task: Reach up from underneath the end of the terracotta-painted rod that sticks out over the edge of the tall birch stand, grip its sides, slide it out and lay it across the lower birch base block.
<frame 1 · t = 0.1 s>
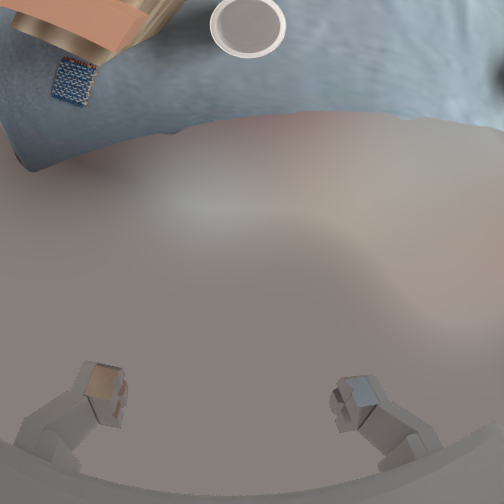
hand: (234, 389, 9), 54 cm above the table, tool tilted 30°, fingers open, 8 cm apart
jar: (247, 19, 38), on the table
woven mat: (76, 79, 43), on the table
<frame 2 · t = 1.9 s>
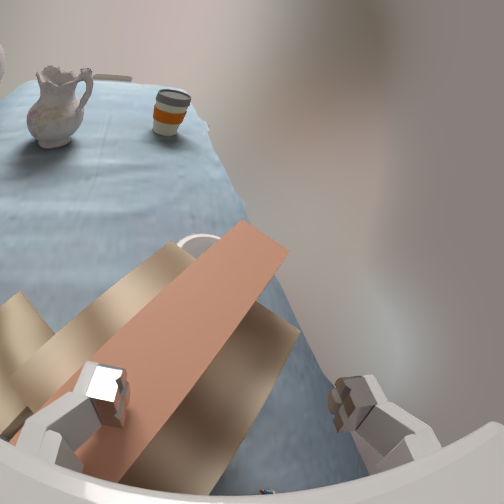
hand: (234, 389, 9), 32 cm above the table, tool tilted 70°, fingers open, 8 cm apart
jar: (188, 317, 47), on the table
base block: (46, 399, 27), on the table
reusable coffee cup: (164, 131, 93), on the table
stand: (147, 425, 31), on the table
ceramic pitcher: (56, 141, 66), on the table
rod: (124, 412, 12), point 26 cm above the table, touching gripper, stand
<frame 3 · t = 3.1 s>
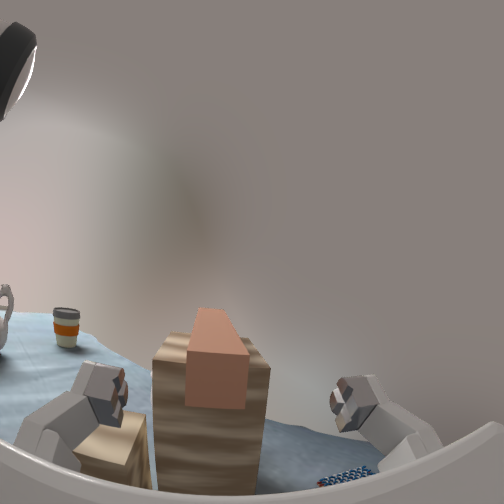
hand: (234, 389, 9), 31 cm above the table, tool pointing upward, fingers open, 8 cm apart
reusable coffee cup: (66, 345, 94), on the table
stand: (204, 491, 31), on the table
woven mat: (353, 493, 31), on the table
rod: (210, 355, 30), point 26 cm above the table, touching stand
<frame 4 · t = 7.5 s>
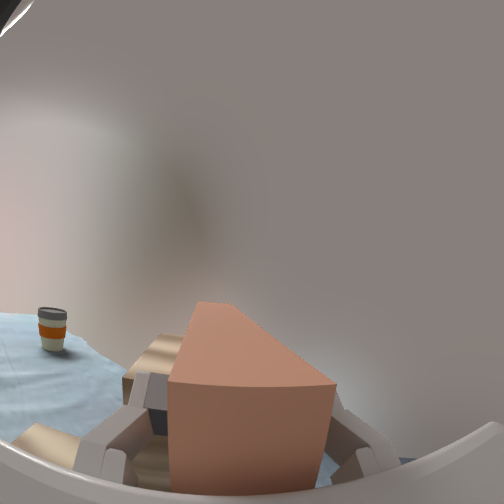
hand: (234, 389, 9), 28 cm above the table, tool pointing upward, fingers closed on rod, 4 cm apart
reusable coffee cup: (52, 348, 82), on the table
rod: (217, 369, 19), point 26 cm above the table, touching gripper, stand
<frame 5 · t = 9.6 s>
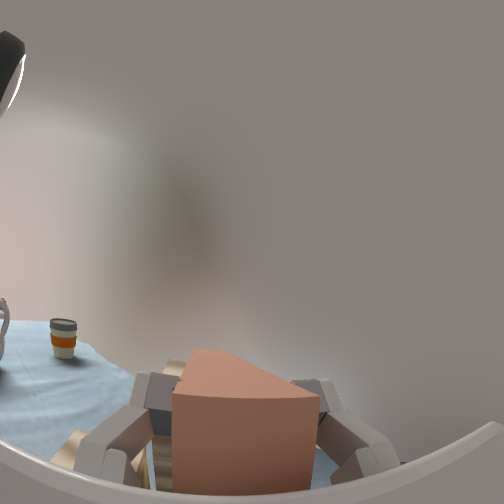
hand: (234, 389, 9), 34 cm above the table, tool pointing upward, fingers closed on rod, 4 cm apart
reusable coffee cup: (63, 356, 91), on the table
rod: (214, 408, 19), point 29 cm above the table, tilted 11°, touching gripper, stand
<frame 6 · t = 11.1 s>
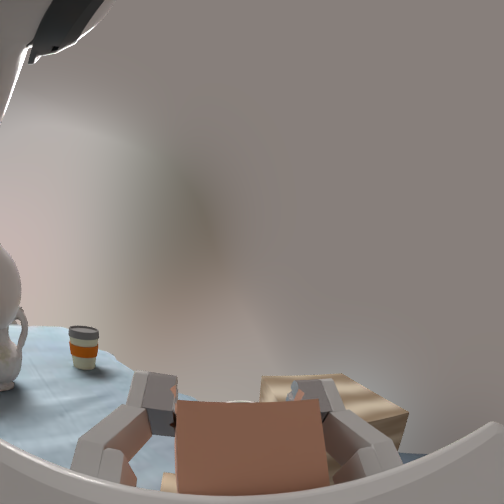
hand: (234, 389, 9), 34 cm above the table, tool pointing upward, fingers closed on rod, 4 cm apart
reusable coffee cup: (84, 366, 87), on the table
ceramic pitcher: (1, 384, 48), on the table
rod: (205, 486, 14), point 23 cm above the table, tilted 36°, touching gripper
when the fingers open (20 cm above the table, at t = 14.0 s): rod stays where it is, resting on base block.
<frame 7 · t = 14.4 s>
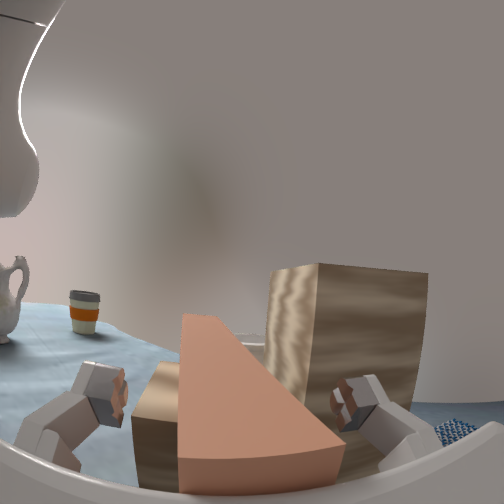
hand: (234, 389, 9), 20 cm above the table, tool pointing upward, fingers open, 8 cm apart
jar: (243, 415, 45), on the table
reusable coffee cup: (83, 332, 89), on the table
stand: (311, 472, 27), on the table
woven mat: (452, 444, 27), on the table
rod: (207, 391, 18), point 16 cm above the table, touching base block
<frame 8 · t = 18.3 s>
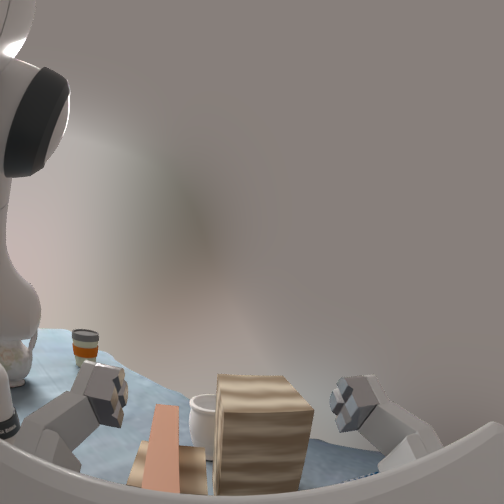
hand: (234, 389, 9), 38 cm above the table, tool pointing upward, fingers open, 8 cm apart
jar: (210, 452, 55), on the table
reusable coffee cup: (85, 365, 98), on the table
stand: (246, 502, 37), on the table
ceramic pitcher: (13, 381, 59), on the table
rod: (164, 468, 28), point 16 cm above the table, touching base block
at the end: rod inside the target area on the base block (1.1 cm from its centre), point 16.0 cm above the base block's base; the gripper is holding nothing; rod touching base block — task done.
